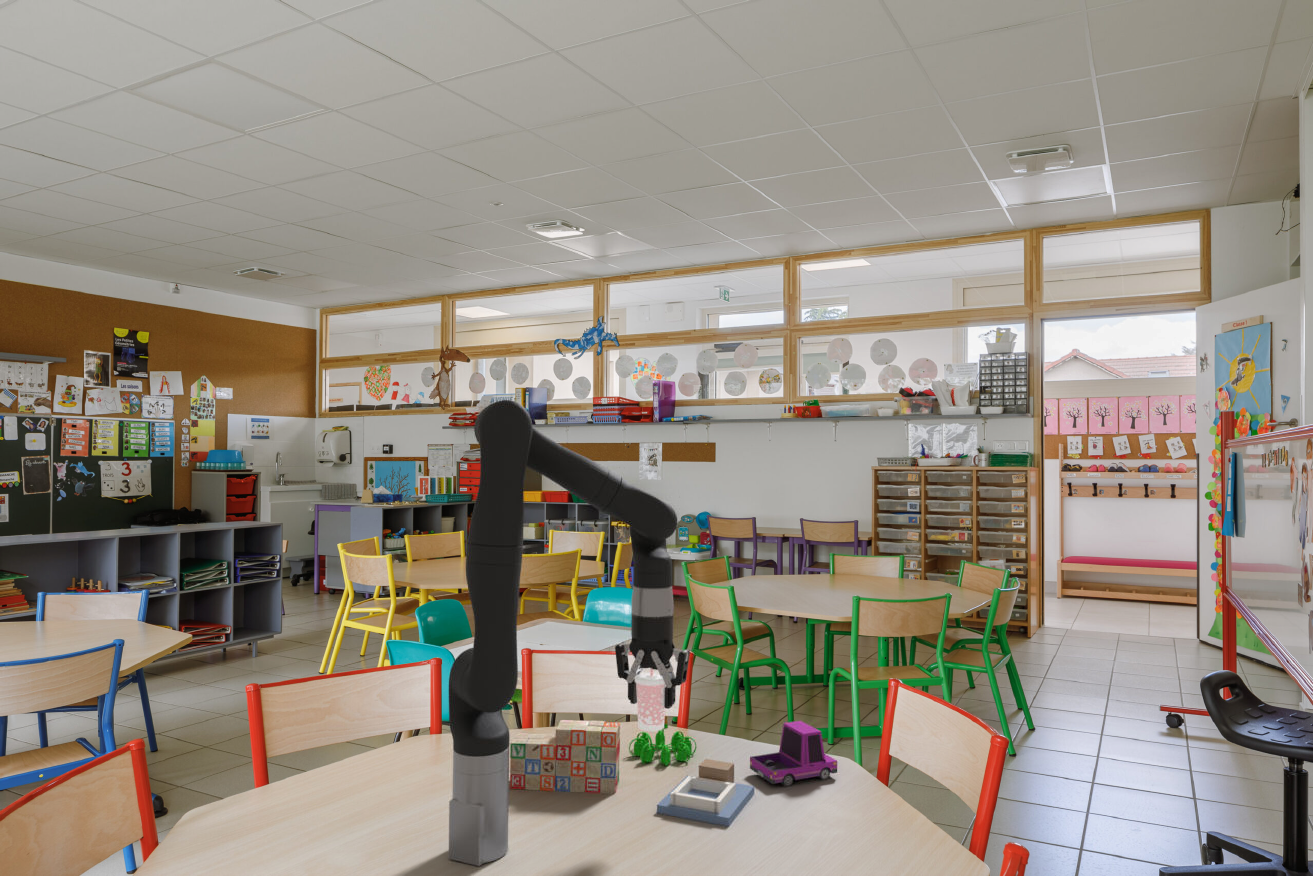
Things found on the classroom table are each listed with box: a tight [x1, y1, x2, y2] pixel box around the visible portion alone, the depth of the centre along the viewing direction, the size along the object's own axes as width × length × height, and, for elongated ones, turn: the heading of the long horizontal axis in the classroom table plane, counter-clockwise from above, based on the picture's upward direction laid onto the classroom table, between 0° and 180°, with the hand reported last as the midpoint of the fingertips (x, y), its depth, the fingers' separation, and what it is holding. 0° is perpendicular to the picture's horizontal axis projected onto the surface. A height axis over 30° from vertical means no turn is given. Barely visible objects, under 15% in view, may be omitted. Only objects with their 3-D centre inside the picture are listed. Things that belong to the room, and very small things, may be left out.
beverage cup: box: [635, 668, 666, 732], centre depth 150 cm, size 6×6×14 cm
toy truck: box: [749, 720, 838, 788], centre depth 174 cm, size 11×16×10 cm
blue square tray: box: [656, 758, 755, 827], centre depth 160 cm, size 16×14×6 cm
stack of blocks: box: [509, 719, 621, 795], centre depth 168 cm, size 21×6×12 cm, turn 86°
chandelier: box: [628, 723, 697, 767], centre depth 186 cm, size 15×15×7 cm
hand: (651, 704), depth 150 cm, fingers closed on beverage cup, 6 cm apart
